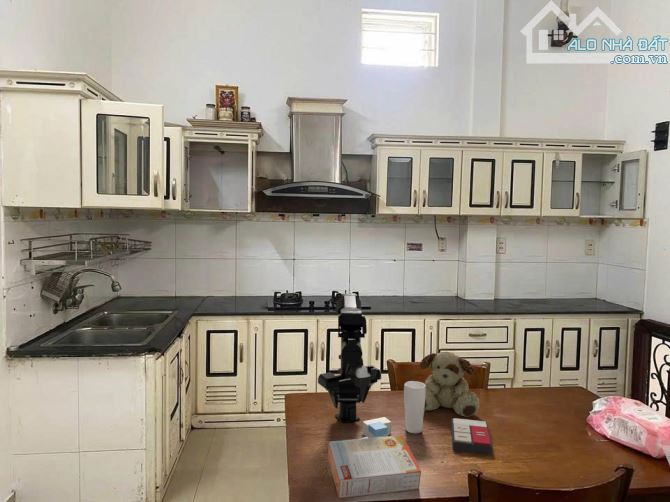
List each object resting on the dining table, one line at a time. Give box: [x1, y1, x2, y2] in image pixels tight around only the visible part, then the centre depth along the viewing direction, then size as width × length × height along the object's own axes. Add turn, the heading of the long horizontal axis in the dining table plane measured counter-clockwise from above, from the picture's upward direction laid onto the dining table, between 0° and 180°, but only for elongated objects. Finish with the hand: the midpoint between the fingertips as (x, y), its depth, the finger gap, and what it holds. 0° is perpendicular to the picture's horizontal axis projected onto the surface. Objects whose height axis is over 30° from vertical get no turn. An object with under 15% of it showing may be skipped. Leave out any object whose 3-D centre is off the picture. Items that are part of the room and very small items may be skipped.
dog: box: [418, 351, 480, 418], centre depth 164 cm, size 23×19×20 cm
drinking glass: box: [403, 380, 426, 434], centre depth 144 cm, size 7×7×15 cm
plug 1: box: [362, 416, 392, 437], centre depth 142 cm, size 4×8×4 cm, turn 116°
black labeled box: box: [450, 418, 493, 456], centre depth 138 cm, size 11×4×15 cm
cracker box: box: [327, 434, 422, 499], centre depth 116 cm, size 14×6×21 cm
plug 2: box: [368, 422, 389, 438], centre depth 130 cm, size 5×4×8 cm
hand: (349, 405), depth 134 cm, fingers open, 9 cm apart
